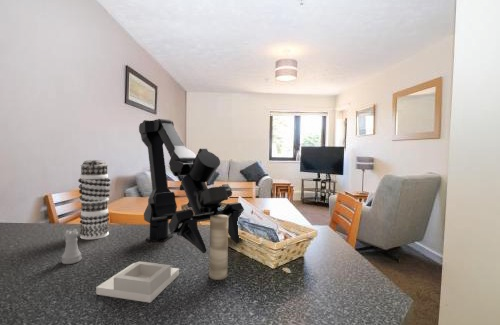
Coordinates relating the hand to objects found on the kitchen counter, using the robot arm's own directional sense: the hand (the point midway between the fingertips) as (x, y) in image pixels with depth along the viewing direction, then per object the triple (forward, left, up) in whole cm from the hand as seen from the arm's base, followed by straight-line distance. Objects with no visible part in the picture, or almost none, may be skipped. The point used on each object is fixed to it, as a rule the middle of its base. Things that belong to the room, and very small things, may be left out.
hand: (222, 247), depth 63 cm
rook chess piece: (+1, -40, -7) cm, 41 cm away
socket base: (+7, -16, -7) cm, 19 cm away
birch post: (-1, -1, -7) cm, 7 cm away
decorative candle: (-18, -50, -7) cm, 54 cm away
